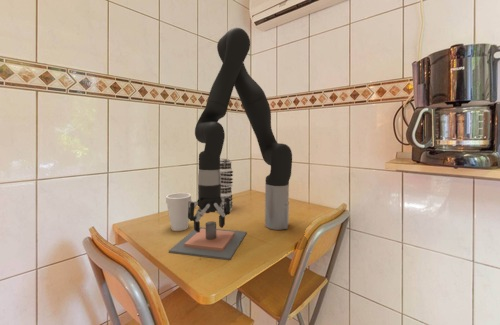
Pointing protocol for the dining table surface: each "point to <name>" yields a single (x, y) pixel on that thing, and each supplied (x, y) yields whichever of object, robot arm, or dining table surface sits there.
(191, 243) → the lid
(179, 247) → the mat
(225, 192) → the decorative candle
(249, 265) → the dining table surface
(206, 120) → the robot arm
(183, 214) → the foam cup
